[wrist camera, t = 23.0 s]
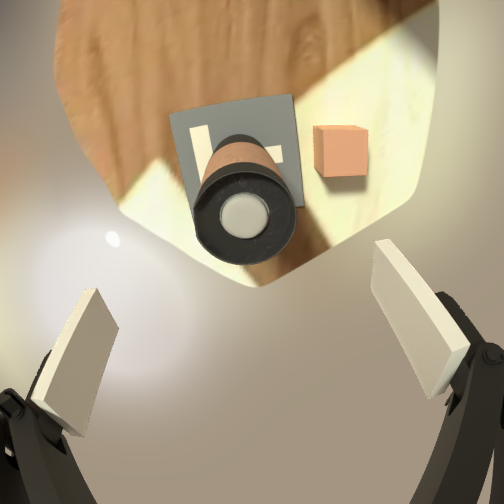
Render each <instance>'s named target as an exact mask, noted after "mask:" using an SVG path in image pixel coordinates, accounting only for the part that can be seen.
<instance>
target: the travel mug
mask: <svg viewBox="0 0 504 504" xmlns="http://www.w3.org/2000/svg"><path fill="white" fill-rule="evenodd" d="M193 215H194V224H195V230H196V237H197V239H198V241H199V242H200V244H201V245H202V246H203V247H204V248H205V249H206V250H207V251H208V252H209V253H210V254H211V255H213V256H214V257H216V258H218V259H220V260H222V261H224V262H227V263H231V264H235V265H253V264H258V263H261V262H264V261H267V260H269V259H271V258H272V257H274V256H276V255H277V254H278V253H280V252H281V251H282V250H283V249H284V248H285V247H286V245H287V244H288V243H289V241H290V239H291V238H292V236H293V233H294V231H295V227H296V222H297V211H296V205H295V202H294V199H293V197H292V195H291V193H290V191H289V189H288V187H287V185H286V183H285V181H284V179H283V177H282V175H281V174H280V172H279V170H278V168H277V166H276V164H275V162H274V160H273V159H272V157H271V156H270V154H269V153H268V152H267V151H266V149H265V148H264V147H263V145H262V144H261V143H260V142H259V141H258V140H256V139H255V138H253V137H251V136H249V135H244V134H235V135H231V136H229V137H227V138H225V139H224V140H222V141H221V142H220V143H219V144H218V145H217V147H216V149H215V150H214V152H213V154H212V156H211V158H210V160H209V162H208V164H207V166H206V169H205V173H204V176H203V179H202V182H201V185H200V189H199V192H198V195H197V198H196V201H195V203H194V206H193Z"/></svg>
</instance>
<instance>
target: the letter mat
mask: <svg viewBox="0 0 504 504" xmlns="http://www.w3.org/2000/svg"><path fill="white" fill-rule="evenodd" d="M169 118H170V123H171V128H172V132H173V137H174V142H175V146H176V151H177V155H178V160H179V164H180V168H181V173H182V177H183V181H184V185H185V190H186V194H187V198H188V202H189V206H190V210H191V214H192V218H193V222H194V215H193V206H194V203H195V201H196V198H197V195H198V192H199V189H200V185H201V182H202V179H203V176H204V173H205V169H206V166H207V164H208V162H209V160H210V158H211V156H212V154H213V152H214V150H215V149H216V147H217V145H218V144H219V143H220V142H221V141H222V140H224V139H225V138H227V137H229V136H231V135H235V134H244V135H249V136H251V137H253V138H255V139H256V140H258V141H259V142H260V143H261V144H262V145H263V147H264V148H265V149H266V151H267V152H268V153H269V154H270V156H271V157H272V159H273V160H274V162H275V164H276V166H277V168H278V170H279V172H280V174H281V175H282V177H283V179H284V181H285V183H286V185H287V187H288V189H289V191H290V193H291V195H292V197H293V199H294V202H295V205H296V207H298V206H304V200H303V189H302V178H301V168H300V158H299V149H298V140H297V131H296V123H295V115H294V107H293V100H292V94H283V95H274V96H266V97H258V98H251V99H244V100H237V101H231V102H225V103H220V104H214V105H209V106H204V107H199V108H194V109H190V110H185V111H181V112H177V113H172V114H169Z"/></svg>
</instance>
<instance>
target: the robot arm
mask: <svg viewBox="0 0 504 504" xmlns="http://www.w3.org/2000/svg"><path fill="white" fill-rule="evenodd" d="M371 291H372V293H373V295H374V296H375V298H376V300H377V302H378V303H379V305H380V307H381V308H382V310H383V312H384V314H385V316H386V318H387V319H388V321H389V323H390V325H391V327H392V329H393V330H394V332H395V334H396V336H397V338H398V340H399V342H400V344H401V346H402V347H403V350H404V351H405V353H406V355H407V357H408V359H409V361H410V363H411V365H412V367H413V369H414V371H415V373H416V375H417V378H418V380H419V382H420V384H421V386H422V388H423V390H424V392H425V394H426V397H427V399H430V398H432V397H435V396H437V395H440V394H442V393H444V392H445V390H446V389H447V387H448V386H449V384H450V385H451V387H452V388H453V392H452V393H451V395H450V396H449V398H448V399H447V401H446V403H445V406H447V405H448V408H447V411H446V414H445V418H444V421H443V424H442V427H441V430H440V433H439V436H438V439H437V442H436V444H435V447H434V450H433V452H432V455H431V457H430V460H429V462H428V465H427V467H426V470H425V472H424V474H423V476H422V479H421V481H420V483H419V485H418V488H417V489H416V491H415V493H414V496H413V498H412V500H411V501H410V504H477V501H478V499H479V496H480V493H481V490H482V487H483V484H484V481H485V478H486V475H487V471H488V468H489V464H490V461H491V458H492V454H493V450H494V464H493V477H492V486H491V494H490V501H489V504H504V350H503V349H502V348H500V346H498V345H496V344H494V343H487V342H485V340H484V339H483V338H482V336H481V335H480V334H479V332H478V331H477V329H476V328H475V326H474V325H473V324H472V322H471V321H470V320H469V318H468V317H467V316H465V313H464V312H463V310H462V309H460V306H459V305H458V304H457V303H456V301H455V300H454V299H453V298H452V297H451V296H449V295H448V294H446V293H445V292H443V291H442V292H438V293H435V294H434V293H433V291H432V290H431V289H430V288H429V286H428V285H427V284H426V282H425V281H424V280H423V279H422V277H420V275H419V274H418V272H417V271H416V270H415V269H414V268H413V266H412V265H411V264H410V263H409V262H408V260H407V259H406V258H405V257H404V256H403V254H402V253H401V252H400V251H399V250H398V249H397V248H396V246H395V245H394V244H393V243H392V242H391V240H390V239H385V240H379V241H375V242H374V254H373V268H372V281H371ZM118 330H119V327H118V326H117V324H116V322H115V320H114V319H113V317H112V315H111V313H110V312H109V310H108V308H107V306H106V304H105V303H104V300H103V299H102V297H101V295H100V293H99V291H98V289H97V288H92V289H85V290H84V292H83V294H82V296H81V297H80V299H79V301H78V303H77V304H76V306H75V308H74V309H73V311H72V313H71V315H70V317H69V318H68V321H67V322H66V324H65V326H64V328H63V330H62V332H61V334H60V335H59V337H58V339H57V341H56V343H55V345H54V347H53V349H52V350H50V352H49V353H48V354H47V355H46V356H45V358H44V359H43V361H42V364H41V366H40V369H39V370H38V372H37V376H35V379H34V381H33V383H32V385H31V388H30V390H29V393H28V395H27V397H26V399H25V401H24V399H22V398H21V397H20V396H19V395H18V393H17V392H15V390H13V389H12V388H8V389H5V390H4V391H3V392H1V393H0V412H1V413H2V414H1V413H0V504H97V503H96V501H95V499H94V497H93V495H92V494H91V492H90V490H89V488H88V486H87V484H86V482H85V480H84V478H83V476H82V474H81V472H80V470H79V468H78V466H77V464H76V461H75V459H74V457H73V455H72V452H71V450H70V448H69V445H68V443H67V440H66V438H65V437H64V435H62V434H61V433H62V430H63V429H64V430H66V431H67V432H68V433H69V434H70V435H73V436H79V437H85V434H86V430H87V426H88V423H89V419H90V415H91V412H92V408H93V405H94V402H95V398H96V395H97V392H98V388H99V385H100V382H101V379H102V376H103V373H104V370H105V367H106V364H107V361H108V358H109V355H110V352H111V349H112V346H113V344H114V341H115V338H116V335H117V333H118ZM448 403H449V404H448ZM5 447H6V448H7V449H9V450H10V451H11V452H12V455H11V456H9V455H8V454H6V453H5Z"/></svg>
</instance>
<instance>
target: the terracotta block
mask: <svg viewBox="0 0 504 504" xmlns="http://www.w3.org/2000/svg"><path fill="white" fill-rule="evenodd" d="M313 143H314V168H315V169H316V170H317V171H318V172H319V173H320V174H321V175H322V176H323V177H335V176H356V175H367V169H368V130H366V129H363V128H360V127H357V126H354V125H321V126H313Z"/></svg>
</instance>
